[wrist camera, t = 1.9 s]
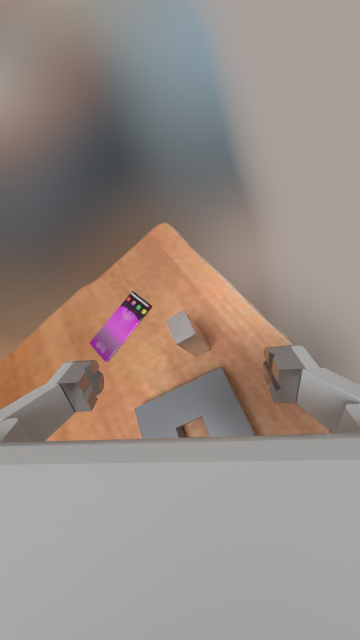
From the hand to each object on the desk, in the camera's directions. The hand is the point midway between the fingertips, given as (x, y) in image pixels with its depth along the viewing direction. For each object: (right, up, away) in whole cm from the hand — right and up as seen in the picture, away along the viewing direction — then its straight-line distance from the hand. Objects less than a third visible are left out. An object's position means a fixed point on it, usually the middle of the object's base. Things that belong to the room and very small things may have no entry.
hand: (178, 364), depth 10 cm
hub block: (+3, -16, +23) cm, 28 cm away
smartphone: (-13, +1, +36) cm, 38 cm away
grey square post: (+3, -2, +28) cm, 28 cm away
